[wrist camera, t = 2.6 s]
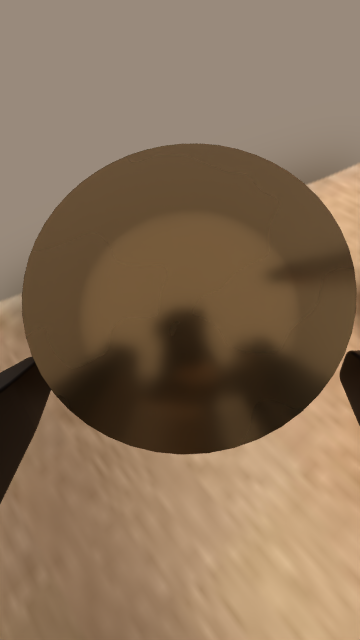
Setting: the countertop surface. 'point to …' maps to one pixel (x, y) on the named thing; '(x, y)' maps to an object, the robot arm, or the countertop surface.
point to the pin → (189, 298)
